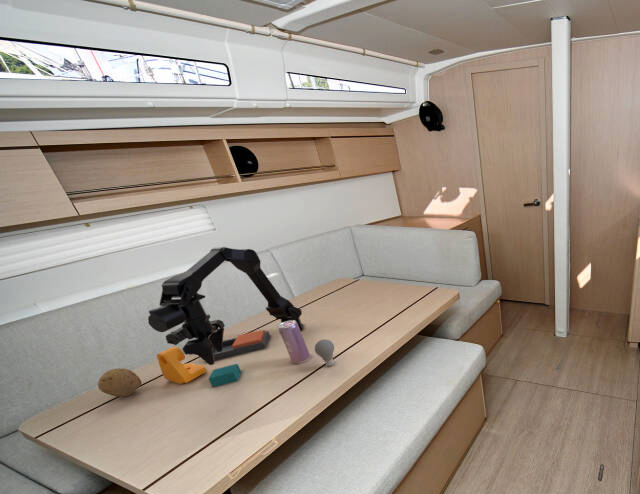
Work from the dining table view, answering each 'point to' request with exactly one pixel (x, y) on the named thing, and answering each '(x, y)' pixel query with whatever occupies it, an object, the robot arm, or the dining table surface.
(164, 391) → the dining table surface
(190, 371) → the bracket
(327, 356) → the light bulb
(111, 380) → the potato
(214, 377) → the teal pad
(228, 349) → the pad tray
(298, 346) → the beverage can
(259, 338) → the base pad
